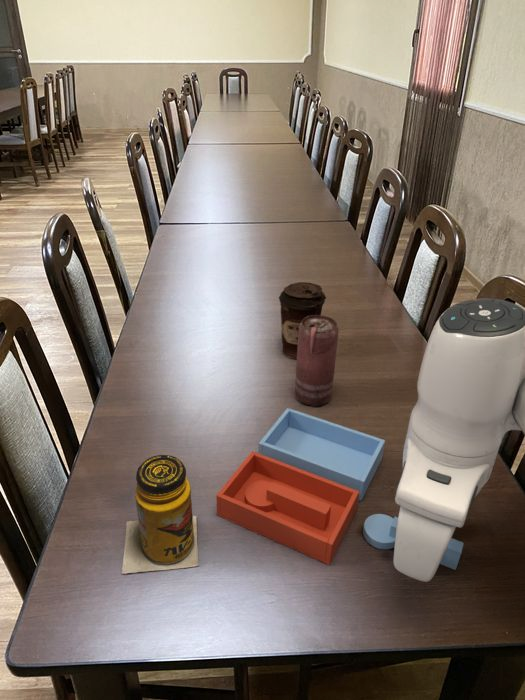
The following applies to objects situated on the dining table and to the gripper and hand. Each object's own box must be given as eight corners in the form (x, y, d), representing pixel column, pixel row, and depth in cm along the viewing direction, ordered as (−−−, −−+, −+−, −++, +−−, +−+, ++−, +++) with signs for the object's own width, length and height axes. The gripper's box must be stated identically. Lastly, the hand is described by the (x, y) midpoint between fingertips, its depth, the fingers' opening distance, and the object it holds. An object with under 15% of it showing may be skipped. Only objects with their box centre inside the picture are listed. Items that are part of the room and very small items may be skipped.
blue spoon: (460, 551, 63) (466, 533, 62) (453, 579, 60) (458, 562, 59) (369, 515, 68) (372, 498, 66) (357, 540, 65) (360, 523, 63)
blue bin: (382, 458, 77) (385, 440, 75) (361, 501, 70) (364, 481, 68) (286, 425, 83) (287, 407, 81) (258, 462, 76) (258, 443, 74)
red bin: (356, 510, 68) (359, 491, 67) (329, 565, 61) (332, 544, 60) (252, 469, 74) (252, 450, 73) (216, 515, 67) (216, 495, 66)
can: (291, 405, 87) (295, 330, 80) (298, 383, 93) (303, 311, 85) (328, 411, 86) (336, 335, 79) (333, 389, 91) (341, 316, 84)
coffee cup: (325, 363, 98) (332, 299, 92) (281, 365, 97) (284, 300, 91) (315, 339, 106) (320, 278, 99) (273, 341, 105) (276, 280, 98)
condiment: (198, 566, 61) (193, 490, 55) (121, 574, 60) (107, 498, 54) (196, 516, 67) (191, 443, 61) (127, 523, 66) (115, 449, 60)
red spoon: (333, 514, 67) (335, 497, 66) (319, 539, 64) (321, 522, 62) (255, 482, 72) (255, 465, 70) (238, 504, 68) (238, 487, 67)
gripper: (439, 389, 64) (419, 474, 72) (391, 503, 49) (372, 597, 56) (495, 405, 62) (468, 491, 69) (462, 530, 46) (433, 624, 54)
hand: (425, 540), depth 62 cm, fingers open, 5 cm apart
